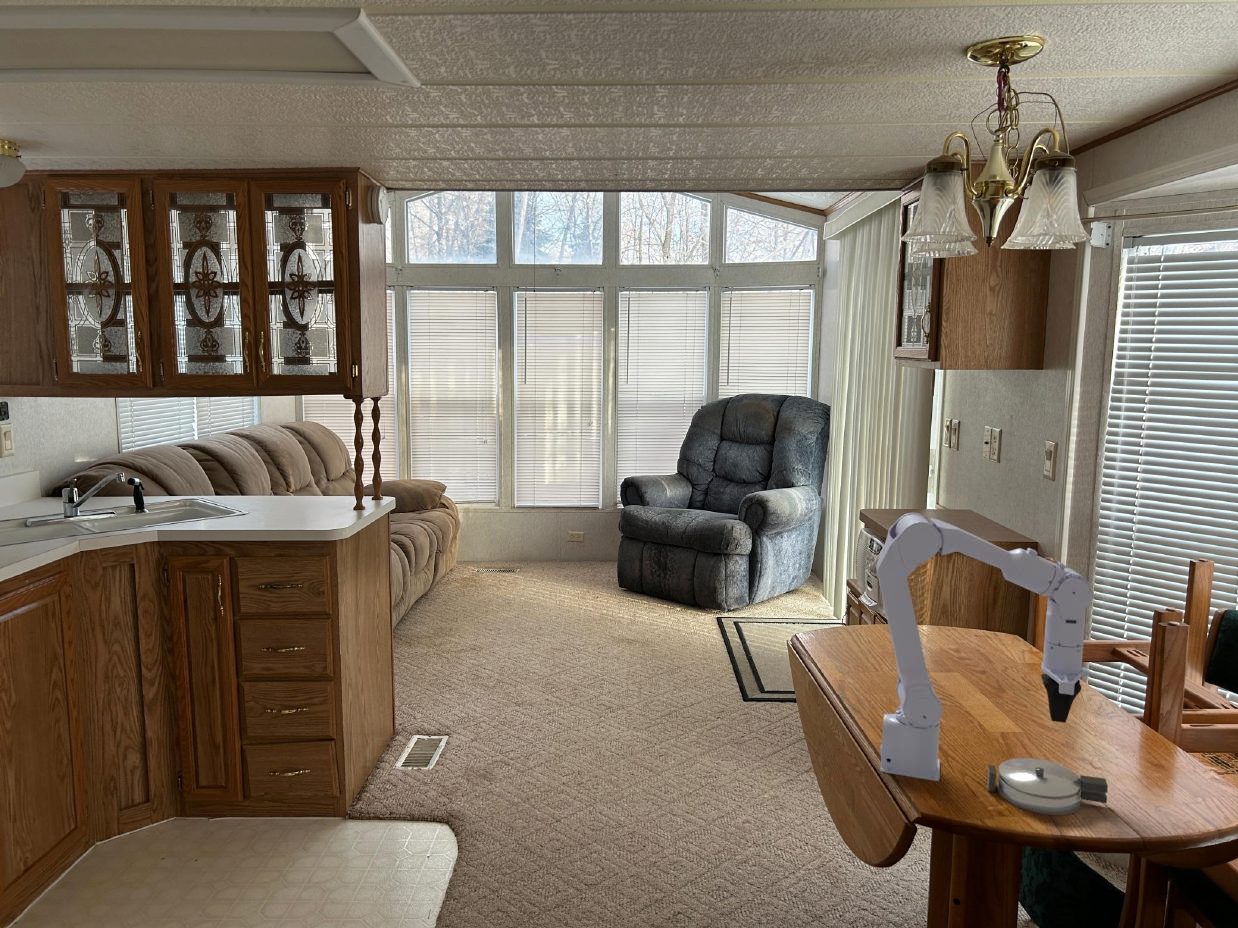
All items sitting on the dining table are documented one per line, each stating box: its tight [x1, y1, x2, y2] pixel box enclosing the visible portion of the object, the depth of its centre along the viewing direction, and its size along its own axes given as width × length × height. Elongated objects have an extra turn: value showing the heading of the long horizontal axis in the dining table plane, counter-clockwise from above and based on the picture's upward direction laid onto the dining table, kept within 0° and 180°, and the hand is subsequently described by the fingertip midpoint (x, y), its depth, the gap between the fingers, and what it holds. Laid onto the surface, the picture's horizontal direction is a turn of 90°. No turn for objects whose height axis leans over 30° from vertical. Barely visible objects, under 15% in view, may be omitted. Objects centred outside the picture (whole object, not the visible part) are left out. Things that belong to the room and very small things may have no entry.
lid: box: [998, 757, 1108, 798], centre depth 138 cm, size 16×12×2 cm
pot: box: [987, 764, 1108, 816], centre depth 138 cm, size 17×12×3 cm
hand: (1058, 720), depth 143 cm, fingers closed
